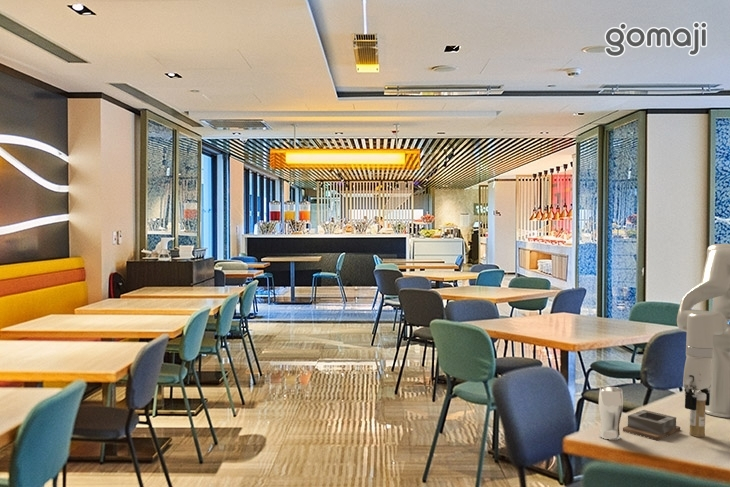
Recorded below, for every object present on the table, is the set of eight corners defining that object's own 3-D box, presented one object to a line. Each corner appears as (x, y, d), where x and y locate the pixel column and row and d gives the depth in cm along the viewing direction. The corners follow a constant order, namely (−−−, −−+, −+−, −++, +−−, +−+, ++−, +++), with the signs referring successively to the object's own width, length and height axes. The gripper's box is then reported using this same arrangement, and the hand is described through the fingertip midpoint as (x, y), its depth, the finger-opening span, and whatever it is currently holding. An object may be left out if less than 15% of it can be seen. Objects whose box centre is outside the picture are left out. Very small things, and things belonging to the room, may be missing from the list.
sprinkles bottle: (706, 438, 194) (707, 395, 193) (690, 436, 195) (691, 393, 195) (703, 433, 198) (704, 391, 198) (687, 432, 200) (688, 390, 199)
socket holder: (646, 421, 210) (647, 408, 210) (680, 429, 202) (680, 416, 201) (622, 430, 200) (623, 416, 200) (657, 440, 191) (657, 425, 191)
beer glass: (623, 441, 189) (625, 392, 189) (599, 439, 191) (601, 391, 190) (619, 434, 196) (620, 386, 196) (596, 432, 198) (597, 385, 197)
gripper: (698, 348, 204) (696, 400, 204) (674, 353, 193) (672, 408, 193) (723, 351, 199) (721, 405, 199) (700, 357, 187) (698, 414, 188)
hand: (697, 407), depth 196 cm, fingers open, 9 cm apart
